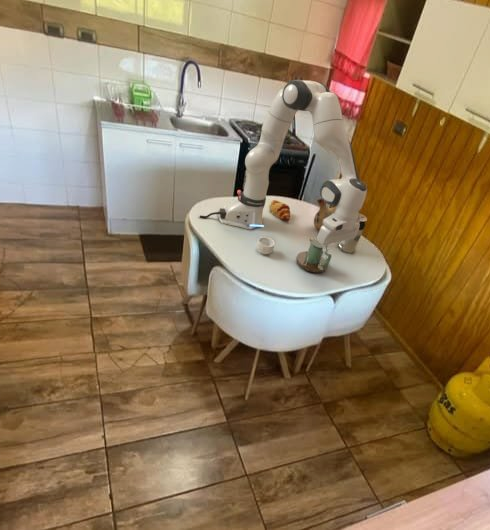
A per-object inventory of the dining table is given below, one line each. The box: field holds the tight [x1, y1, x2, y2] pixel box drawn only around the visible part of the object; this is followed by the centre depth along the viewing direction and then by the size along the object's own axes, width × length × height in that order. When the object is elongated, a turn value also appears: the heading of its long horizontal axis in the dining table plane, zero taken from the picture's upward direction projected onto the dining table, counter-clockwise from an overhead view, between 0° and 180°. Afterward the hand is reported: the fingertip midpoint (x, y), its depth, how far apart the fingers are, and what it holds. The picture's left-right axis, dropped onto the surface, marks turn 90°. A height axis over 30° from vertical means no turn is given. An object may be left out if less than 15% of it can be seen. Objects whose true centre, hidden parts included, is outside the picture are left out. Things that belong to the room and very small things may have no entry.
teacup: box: [256, 236, 276, 255], centre depth 170 cm, size 10×8×5 cm
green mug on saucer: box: [295, 237, 333, 273], centre depth 164 cm, size 15×14×10 cm
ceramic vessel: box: [313, 198, 336, 232], centre depth 190 cm, size 16×9×25 cm, turn 104°
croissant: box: [269, 199, 291, 222], centre depth 202 cm, size 21×10×8 cm, turn 19°
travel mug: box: [338, 212, 368, 254], centre depth 181 cm, size 8×8×18 cm
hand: (332, 249), depth 156 cm, fingers open, 8 cm apart
